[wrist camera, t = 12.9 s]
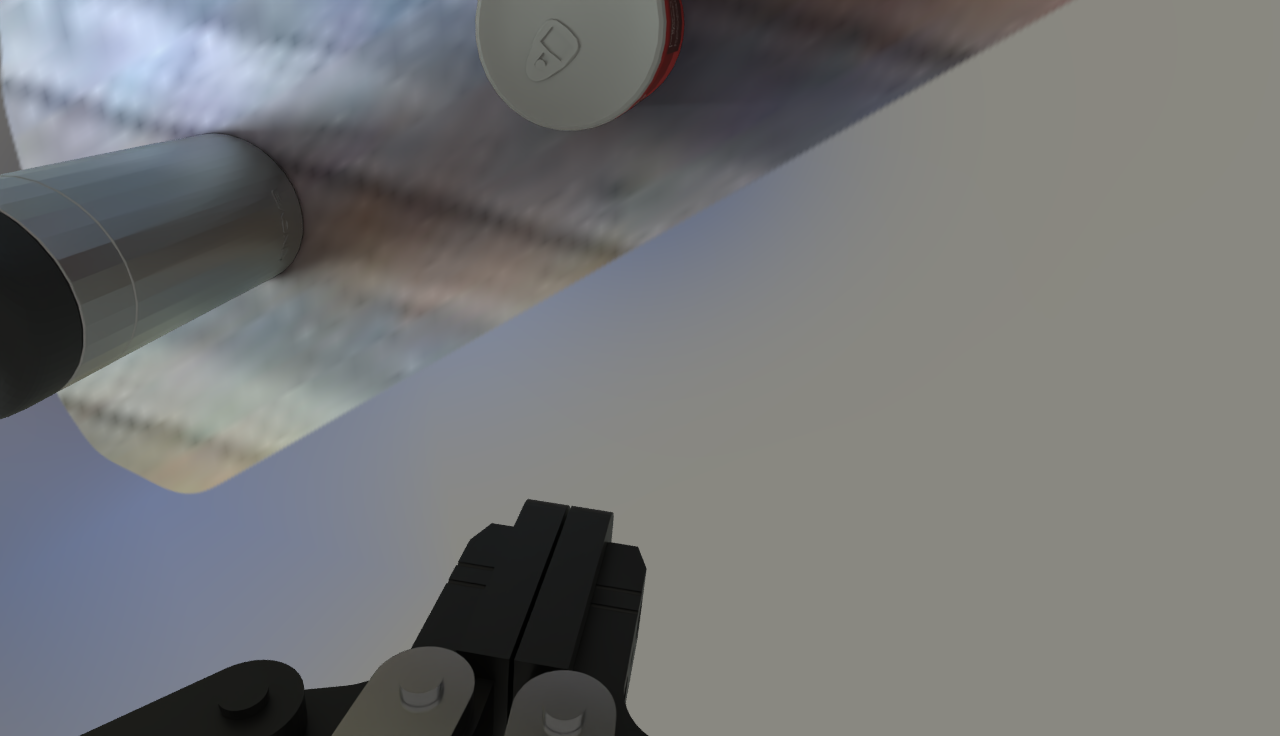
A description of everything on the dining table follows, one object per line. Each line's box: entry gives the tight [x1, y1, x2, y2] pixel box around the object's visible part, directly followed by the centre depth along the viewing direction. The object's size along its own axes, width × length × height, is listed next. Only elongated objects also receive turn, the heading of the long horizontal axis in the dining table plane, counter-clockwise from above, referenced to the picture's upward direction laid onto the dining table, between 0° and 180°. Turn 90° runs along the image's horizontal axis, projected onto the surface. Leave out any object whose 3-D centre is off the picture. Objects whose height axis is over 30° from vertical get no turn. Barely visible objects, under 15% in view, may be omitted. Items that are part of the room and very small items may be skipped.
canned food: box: [475, 0, 684, 131], centre depth 35 cm, size 8×8×11 cm
